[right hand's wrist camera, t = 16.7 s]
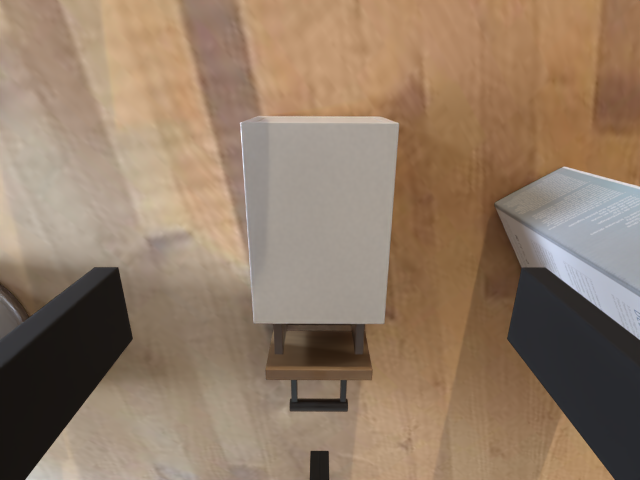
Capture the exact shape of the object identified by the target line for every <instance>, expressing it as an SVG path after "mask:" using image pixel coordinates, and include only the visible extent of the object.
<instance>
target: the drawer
mask: <svg viewBox="0 0 640 480" xmlns="http://www.w3.org/2000/svg"><path fill="white" fill-rule="evenodd" d="M287 325H351V329H352V331H287ZM273 328H274V331H273V334H272V339H271V344H270V349H269V354H268V360H267V365H266V370H265V371H266V380H291V394H292V399H290V411H316V412H347V411H348V400H347V399H346V386H347V380H372V365H371V360H370V355H369V350H368V344H367V339H366V334H365V331H364V330H365V324H273ZM297 380H341V381H340V399H298V391H297Z"/></svg>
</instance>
